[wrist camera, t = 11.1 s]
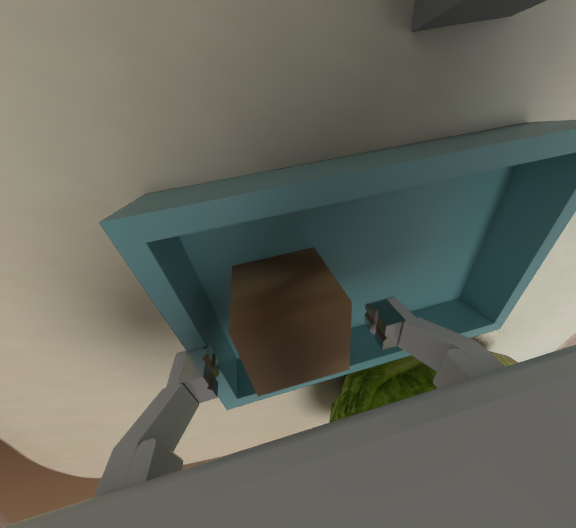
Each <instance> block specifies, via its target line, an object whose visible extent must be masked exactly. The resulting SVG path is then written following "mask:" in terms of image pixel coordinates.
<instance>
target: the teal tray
mask: <svg viewBox="0 0 576 528" xmlns="http://www.w3.org/2000/svg"><path fill="white" fill-rule="evenodd" d="M575 211H576V120H565V121H546V122H527V123H522V124H517V125H511V126H506V127H501V128H495V129H490V130H485V131H479V132H474V133H469V134H463V135H458V136H453V137H448V138H442V139H437V140H432V141H426V142H421V143H416V144H410V145H405V146H400V147H394V148H389V149H384V150H378V151H373V152H368V153H362V154H357V155H352V156H347V157H341V158H336V159H331V160H325V161H320V162H315V163H309V164H304V165H299V166H293V167H288V168H283V169H277V170H272V171H267V172H261V173H256V174H251V175H246V176H240V177H235V178H230V179H224V180H219V181H214V182H208V183H203V184H198V185H192V186H187V187H182V188H176V189H171V190H166V191H160V192H155V193H150V194H145V195H143V196H141V197H140V198H138V199H136V200H135V201H133V202H132V203H130V204H128V205H127V206H125V207H123V208H122V209H120V210H118V211H117V212H115V213H114V214H112V215H110V216H109V217H107V218H105V219H104V220H102V221H101V222H99V223H100V225H101V226H102V228H103V229H104V231H105V232H106V234H107V235H108V237H109V238H110V240H111V241H112V242H113V244H114V245H115V247H116V248H117V250H118V251H119V253H120V254H121V256H122V257H123V259H124V260H125V262H126V263H127V264H128V266H129V267H130V269H131V270H132V272H133V273H134V275H135V276H136V278H137V279H138V281H139V282H140V283H141V285H142V286H143V288H144V289H145V291H146V292H147V294H148V295H149V297H150V298H151V300H152V301H153V302H154V304H155V305H156V307H157V308H158V310H159V311H160V313H161V314H162V316H163V317H164V319H165V320H166V321H167V323H168V324H169V326H170V327H171V329H172V330H173V332H174V333H175V335H176V336H177V338H178V339H179V341H180V342H181V343H182V345H183V346H184V348H185V349H186V351H188V350H191V349H196V348H200V347H204V346H208V345H211V347H212V348H213V354H216V355H217V357H218V360H219V367H220V369H219V375H218V377H217V378H216V380H217V381H218V395H217V396H218V398H219V399H220V400H221V402H222V403H223V405H224V406H225V408H226V409H227V410H228V409H232V408H235V407H239V406H242V405H245V404H249V403H252V402H255V401H259V400H262V399H265V398H269V397H272V396H276V395H279V394H282V393H286V392H289V391H292V390H296V389H299V388H303V387H306V386H309V385H313V384H316V383H319V382H323V381H326V380H329V379H333V378H336V377H340V376H343V375H346V374H350V373H353V372H356V371H360V370H363V369H366V368H370V367H373V366H377V365H380V364H383V363H387V362H390V361H393V360H397V359H400V358H403V357H407V356H410V354H409V353H407V352H406V351H404V350H402V349H401V348H399V347H398V346H395V347H391V348H387V349H383V350H382V349H381V347H380V346H379V344H378V343H377V342H376V340H375V334H373V333H371V332H370V331H369V330H368V328H367V326H366V324H365V320H364V315H365V313H366V312H367V311H366V309H365V305H366V304H367V303H370V302H373V301H377V300H381V299H385V298H389V297H392V296H394V297H396V298H397V299H398V300H399V301H400V302H401V303H402V304H403V305H404V306H405V307H406V308H407V309H408V310H409V311H410V312H411V313H412V314H413V315H414V316H415V317H416V318H419V317H420V318H422V319H424V320H427V321H429V322H432V323H434V324H437V325H439V326H441V327H444V328H446V329H449V330H451V331H454V332H456V333H458V334H461V335H463V336H466V337H468V338H471V337H474V336H477V335H481V334H484V333H488V332H491V331H494V330H498V329H500V328H501V327H502V325H503V323H504V322H505V320H506V319H507V317H508V316H509V314H510V312H511V311H512V309H513V308H514V306H515V305H516V303H517V302H518V300H519V298H520V297H521V295H522V294H523V292H524V291H525V289H526V288H527V286H528V284H529V283H530V281H531V280H532V278H533V277H534V275H535V274H536V272H537V270H538V269H539V267H540V266H541V264H542V263H543V261H544V260H545V258H546V256H547V255H548V253H549V252H550V250H551V249H552V247H553V245H554V244H555V242H556V241H557V239H558V238H559V236H560V235H561V233H562V231H563V230H564V228H565V227H566V225H567V224H568V222H569V221H570V219H571V217H572V216H573V214H574V213H575ZM313 247H314V248H315V249H316V251H317V252H318V254H319V255H320V257H321V258H322V260H323V261H324V262H325V264H326V265H327V267H328V268H329V270H330V271H331V272H332V274H333V275H334V277H335V278H336V280H337V281H338V283H339V284H340V285H341V287H342V288H343V290H344V291H345V293H346V294H347V295H348V297H349V298H350V300H351V301H352V316H351V341H350V365H349V370H347V371H343V372H340V373H336V374H333V375H330V376H326V377H323V378H319V379H316V380H313V381H309V382H306V383H303V384H299V385H296V386H292V387H289V388H286V389H282V390H279V391H275V392H272V393H269V394H265V395H262V396H257V394H256V392H255V389H254V387H253V385H252V383H251V381H250V379H249V376H248V374H247V372H246V370H245V368H244V366H243V363H242V361H241V359H240V357H239V355H238V353H237V350H236V348H235V346H234V344H233V342H232V339H231V337H230V335H229V325H230V302H231V279H232V266H234V265H238V264H243V263H247V262H251V261H256V260H260V259H265V258H269V257H273V256H278V255H282V254H286V253H291V252H295V251H299V250H304V249H308V248H313Z"/></svg>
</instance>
